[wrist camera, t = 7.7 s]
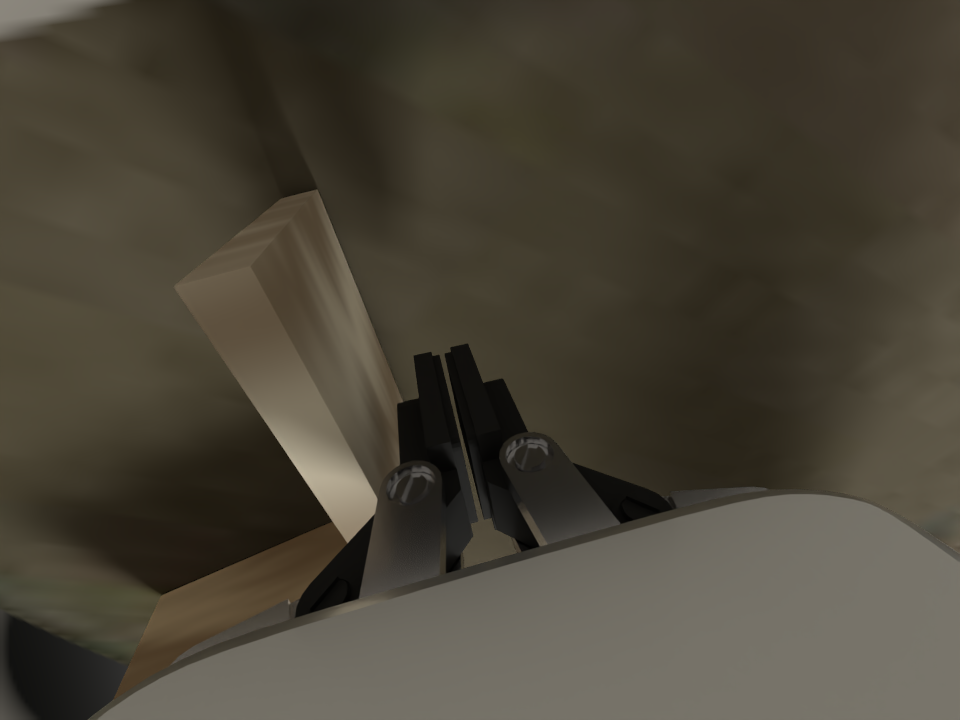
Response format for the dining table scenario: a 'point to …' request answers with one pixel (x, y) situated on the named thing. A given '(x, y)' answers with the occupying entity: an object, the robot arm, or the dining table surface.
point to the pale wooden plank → (304, 352)
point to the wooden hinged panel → (230, 599)
